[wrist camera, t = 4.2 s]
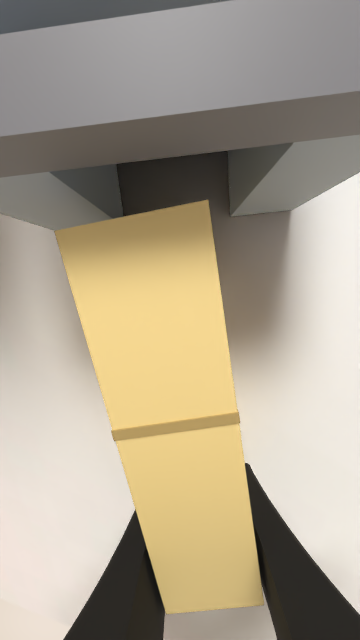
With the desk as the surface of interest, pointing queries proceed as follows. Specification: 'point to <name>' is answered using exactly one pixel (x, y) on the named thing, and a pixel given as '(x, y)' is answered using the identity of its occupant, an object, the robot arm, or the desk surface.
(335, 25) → the dispenser
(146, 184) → the desk surface
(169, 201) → the desk surface
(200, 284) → the stepped yellow block
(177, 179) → the desk surface
